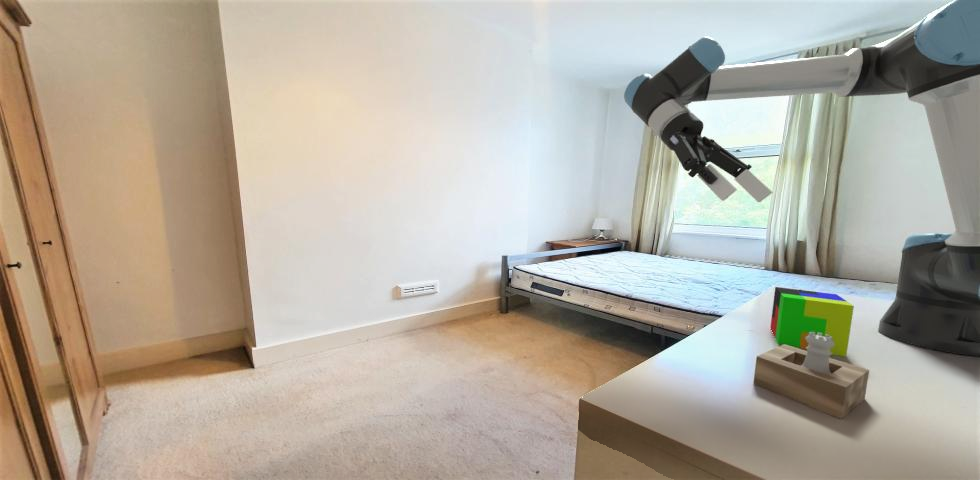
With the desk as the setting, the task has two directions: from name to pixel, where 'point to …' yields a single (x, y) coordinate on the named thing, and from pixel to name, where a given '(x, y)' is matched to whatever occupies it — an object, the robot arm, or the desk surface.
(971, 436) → the desk surface
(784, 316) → the puzzle toy
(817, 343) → the rook chess piece
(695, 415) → the desk surface
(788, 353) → the socket block
